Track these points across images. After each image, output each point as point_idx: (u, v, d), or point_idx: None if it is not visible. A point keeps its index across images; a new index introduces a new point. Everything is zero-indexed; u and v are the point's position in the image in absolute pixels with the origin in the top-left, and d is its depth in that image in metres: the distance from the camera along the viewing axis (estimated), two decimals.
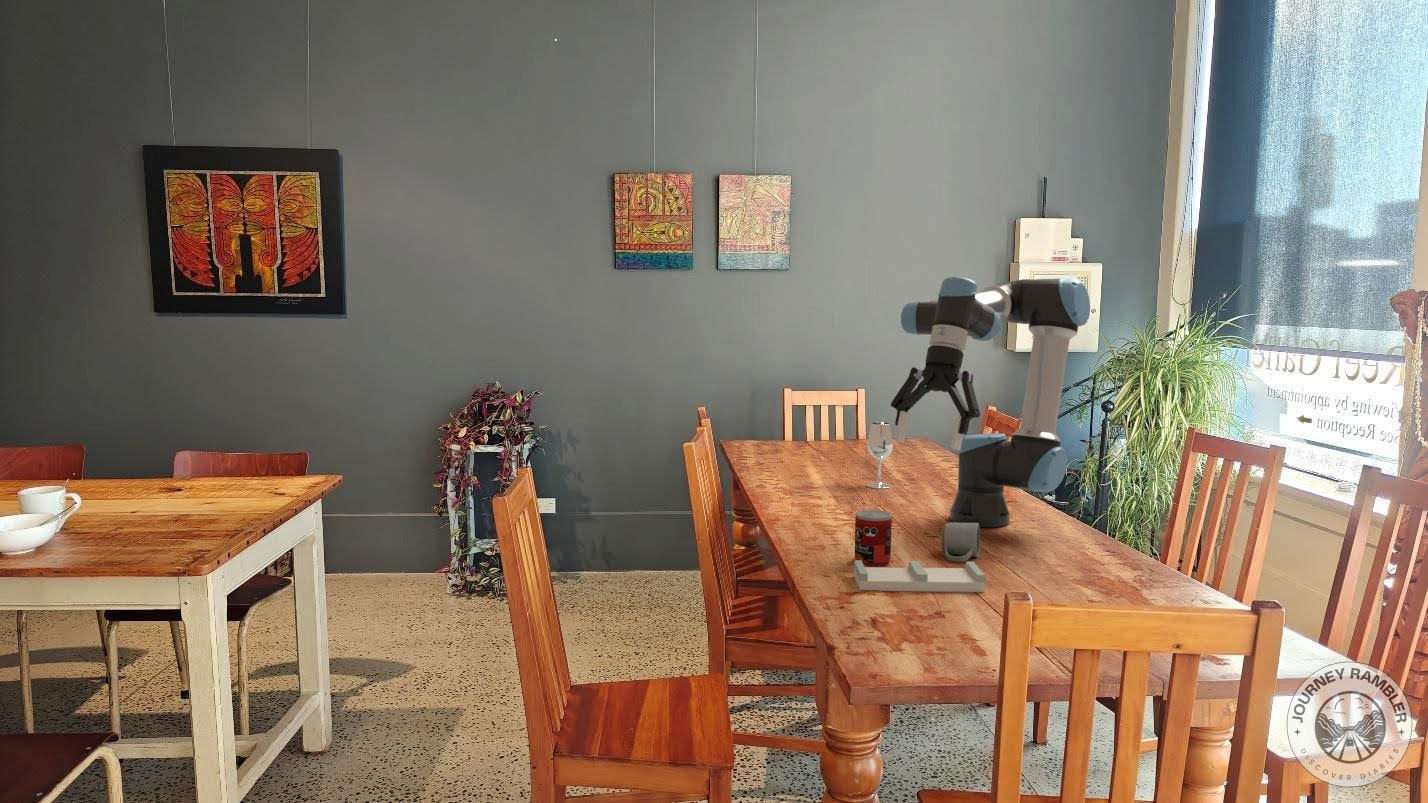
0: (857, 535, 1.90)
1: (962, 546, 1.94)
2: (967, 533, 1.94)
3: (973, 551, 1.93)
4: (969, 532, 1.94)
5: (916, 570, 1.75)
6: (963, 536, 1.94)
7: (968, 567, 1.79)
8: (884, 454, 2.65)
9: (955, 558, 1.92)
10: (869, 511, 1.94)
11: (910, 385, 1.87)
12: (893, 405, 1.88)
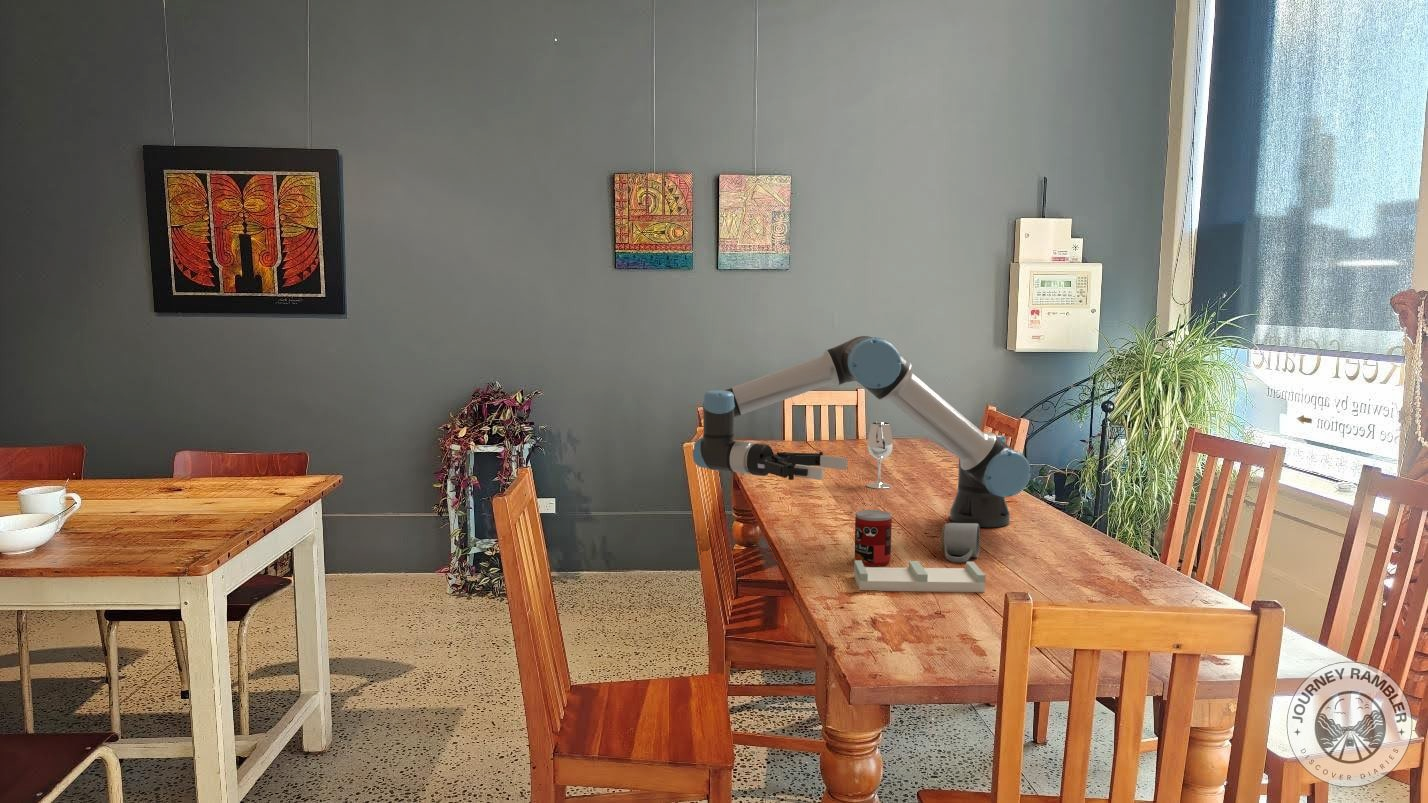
0: (857, 535, 1.90)
1: (962, 546, 1.94)
2: (966, 534, 1.93)
3: (973, 551, 1.93)
4: (969, 533, 1.93)
5: (916, 570, 1.75)
6: (963, 536, 1.94)
7: (968, 567, 1.79)
8: (884, 454, 2.65)
9: (955, 558, 1.91)
10: (869, 511, 1.94)
11: None
12: None
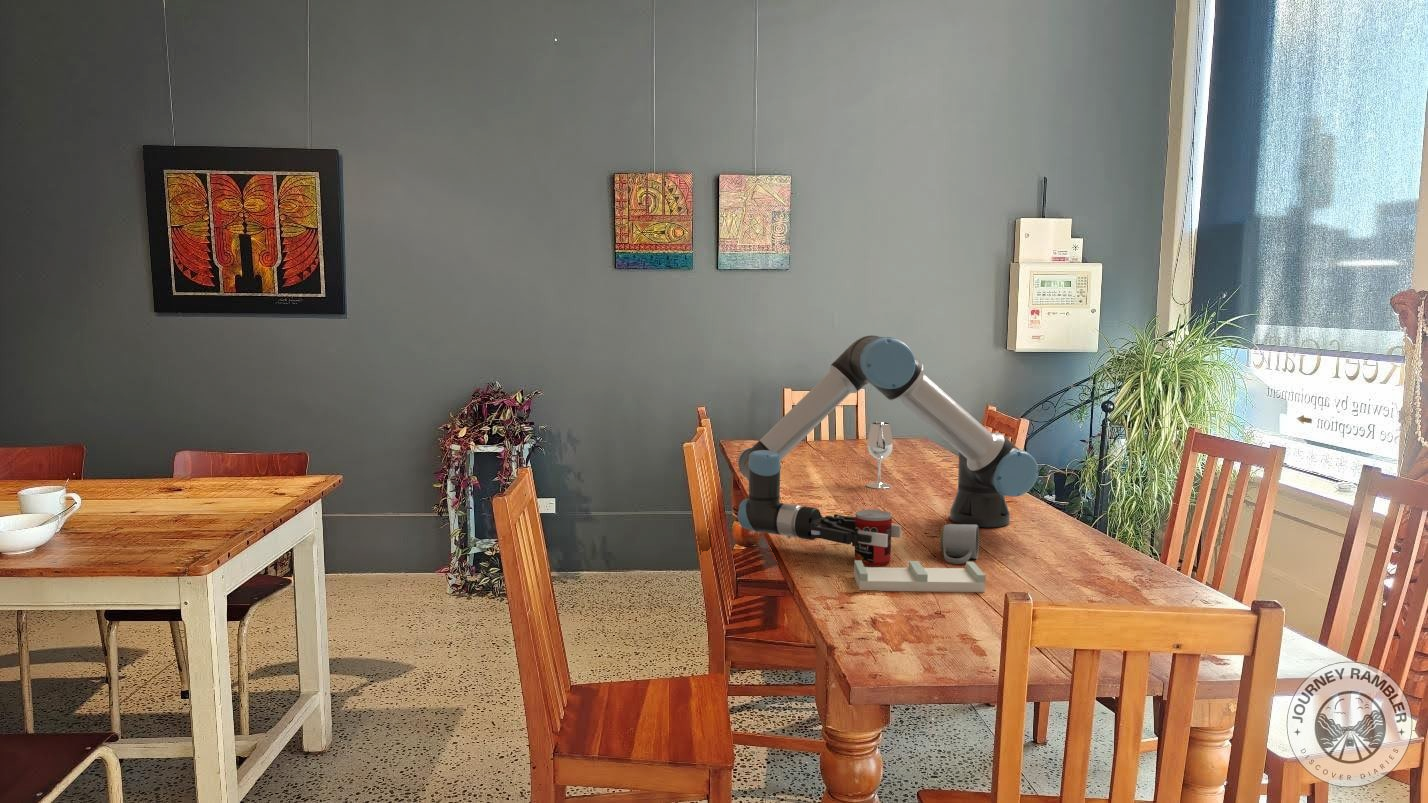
0: None
1: (961, 548, 1.93)
2: (966, 535, 1.92)
3: (972, 553, 1.92)
4: (968, 534, 1.92)
5: (916, 570, 1.75)
6: (962, 538, 1.92)
7: (968, 567, 1.79)
8: (884, 454, 2.65)
9: (954, 560, 1.90)
10: (869, 511, 1.94)
11: None
12: None
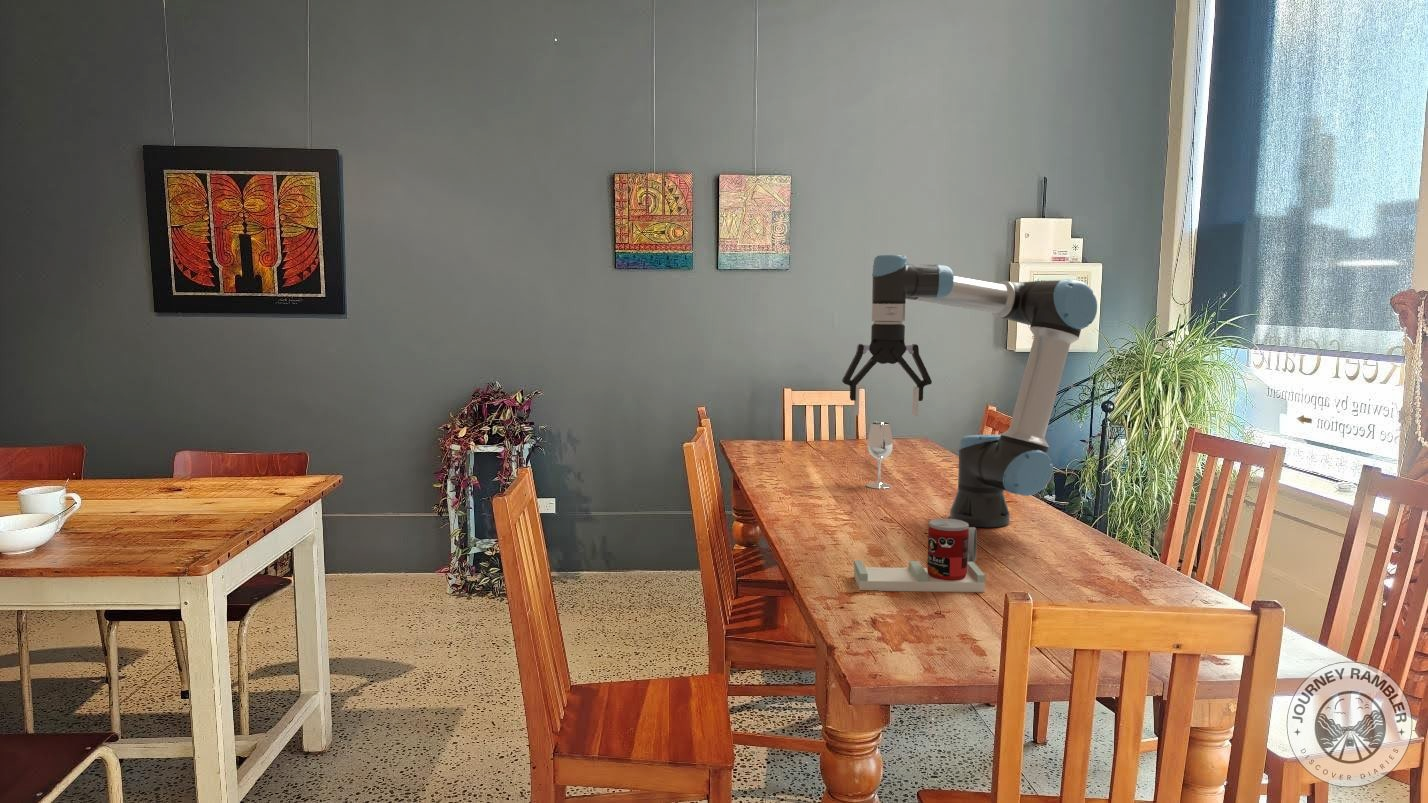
0: (930, 546, 1.75)
1: None
2: None
3: (970, 556, 1.89)
4: None
5: (916, 570, 1.75)
6: None
7: (968, 567, 1.79)
8: (884, 454, 2.65)
9: None
10: (943, 520, 1.78)
11: None
12: (846, 382, 1.97)
